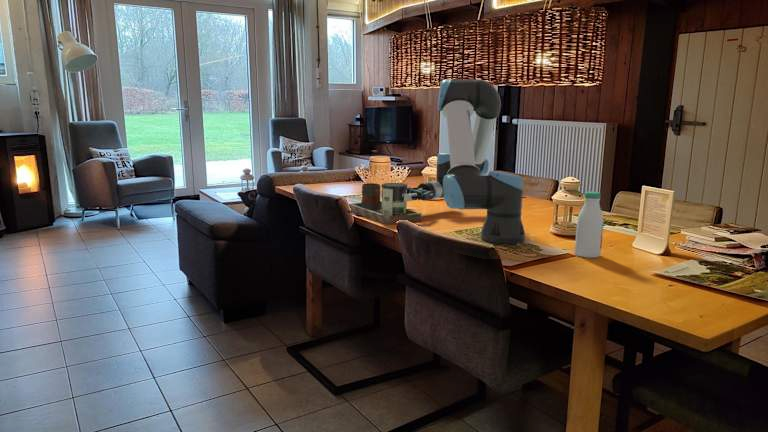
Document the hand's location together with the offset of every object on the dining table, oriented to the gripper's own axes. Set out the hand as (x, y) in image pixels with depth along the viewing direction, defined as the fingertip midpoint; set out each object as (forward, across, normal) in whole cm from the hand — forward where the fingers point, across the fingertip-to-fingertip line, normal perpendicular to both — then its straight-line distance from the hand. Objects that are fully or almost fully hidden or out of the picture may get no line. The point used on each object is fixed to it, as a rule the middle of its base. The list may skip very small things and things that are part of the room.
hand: (392, 195), depth 223 cm
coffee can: (-1, 0, -10) cm, 10 cm away
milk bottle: (-10, -78, -10) cm, 80 cm away
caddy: (-2, +8, -10) cm, 12 cm away
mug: (-4, +16, -10) cm, 19 cm away
